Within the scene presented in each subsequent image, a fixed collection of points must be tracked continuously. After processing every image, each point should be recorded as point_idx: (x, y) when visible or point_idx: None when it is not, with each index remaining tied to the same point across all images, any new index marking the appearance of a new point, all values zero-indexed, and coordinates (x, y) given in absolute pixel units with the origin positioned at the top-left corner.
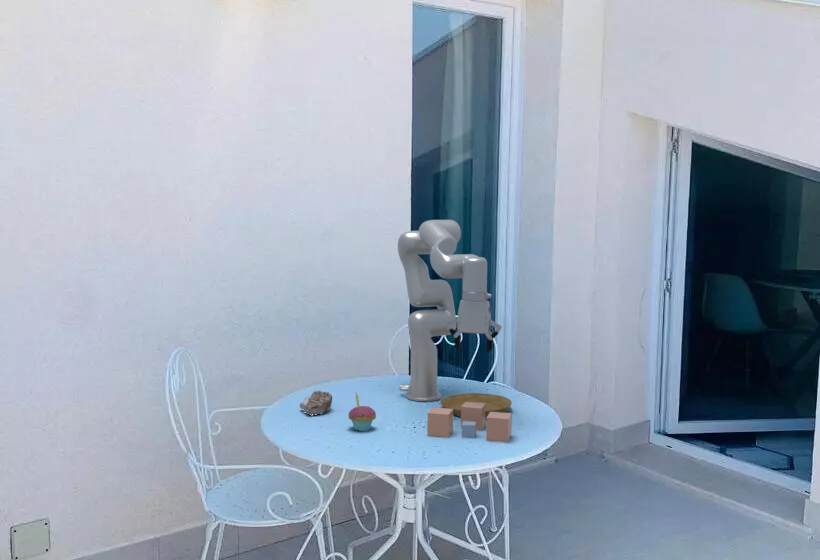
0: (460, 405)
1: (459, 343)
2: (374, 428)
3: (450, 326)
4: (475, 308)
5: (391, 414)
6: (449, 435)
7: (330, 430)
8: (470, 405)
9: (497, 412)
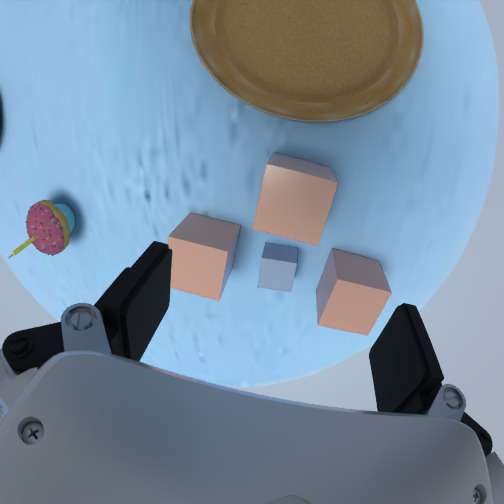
0: None
1: (151, 315)
2: (80, 211)
3: (6, 400)
4: None
5: (86, 100)
6: (233, 260)
7: None
8: (283, 213)
9: (356, 286)
